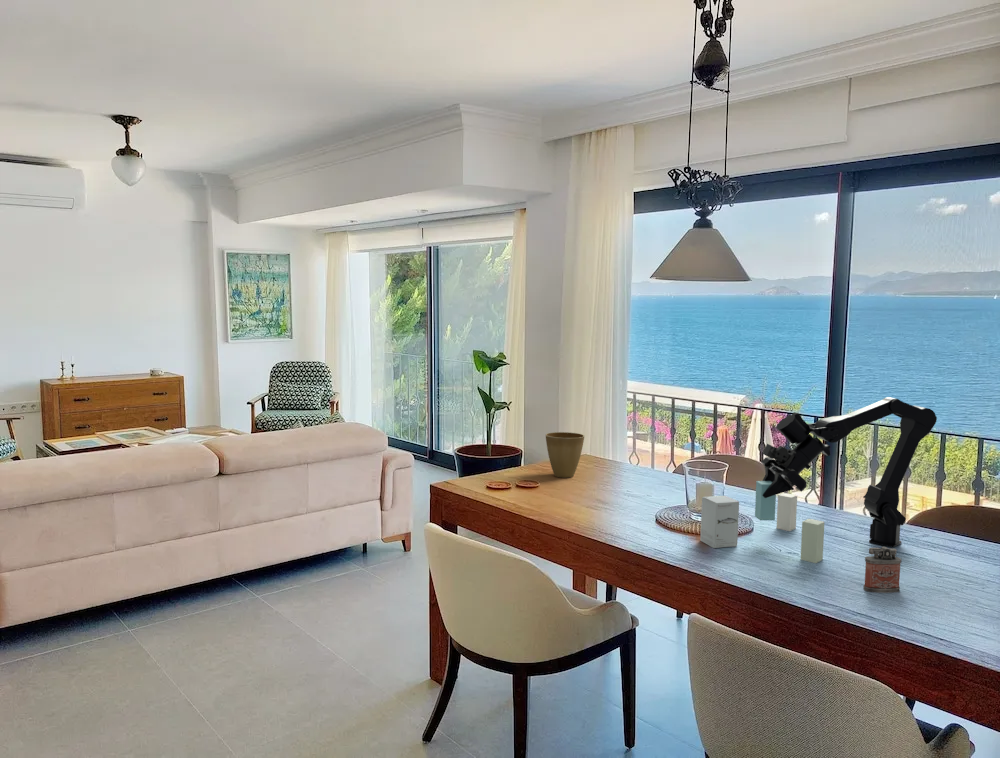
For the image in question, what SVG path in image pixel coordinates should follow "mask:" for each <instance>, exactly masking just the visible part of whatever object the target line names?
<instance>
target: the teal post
mask: <svg viewBox="0 0 1000 758" xmlns="http://www.w3.org/2000/svg"><path fill="white" fill-rule="evenodd" d="M755 482H756V483H755V485H756V486H755V507H754V517H755V518H756V519H758V520H759V521H776V500H777V494H776V495H773V496H770V497H767V498H764V497H763V496H762V495H763V493H764V492H765V491H766V490H767V488H768V487H769V486H770V485H771V484H772V481H762V480H756V481H755Z"/></svg>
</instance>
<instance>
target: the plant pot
mask: <svg viewBox="0 0 1000 758" xmlns="http://www.w3.org/2000/svg"><path fill="white" fill-rule="evenodd" d="M584 441H585V435H584V434H583V433H576V432H566V431H565V432H563V431H560V432H559V431H557V432H555V431H554V432H547V433H546V434H545V442H546V448H547V455H548V458H549V463H550V466H551V470H552V473H553V475H554V476H555V477H557V478H561V479H562V478H564V479H565V478H566V479H567V478H568V479H569V478H573V477H574V475H575V473H576V470H577V468H578V466H579V465H578V464H579V461H580V458H581V455H582V451H583V446H584Z"/></svg>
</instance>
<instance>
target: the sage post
mask: <svg viewBox="0 0 1000 758" xmlns="http://www.w3.org/2000/svg"><path fill="white" fill-rule="evenodd" d="M824 538H825V521H823V520H819V519H814V518H807V519H805V520H802V522H801V542H800V543H801V544H800V560H801V561H805V562H808V563H813V564H817V563H819V562H822V561H823V560H824V559H823V558H824V543H825V542H824V540H825V539H824Z"/></svg>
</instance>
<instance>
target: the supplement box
mask: <svg viewBox="0 0 1000 758" xmlns="http://www.w3.org/2000/svg"><path fill="white" fill-rule="evenodd" d="M739 511H740V501H739V500H736V499H734V498H733V497H732V498H731V497H729V496H727V495H716V496H715V495H714V496H713V495H712V496H702V497H701V511H700V512H701V514H700V517H701V518H700V539H699V540H700V542H702V543H704V544H706V545H708V546H709V547H711V548H712V549H718V548H719V549H720V548H729V547H738V540H739V537H738V536H739V535H738V533H739V515H740V514H739V513H740V512H739Z"/></svg>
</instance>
